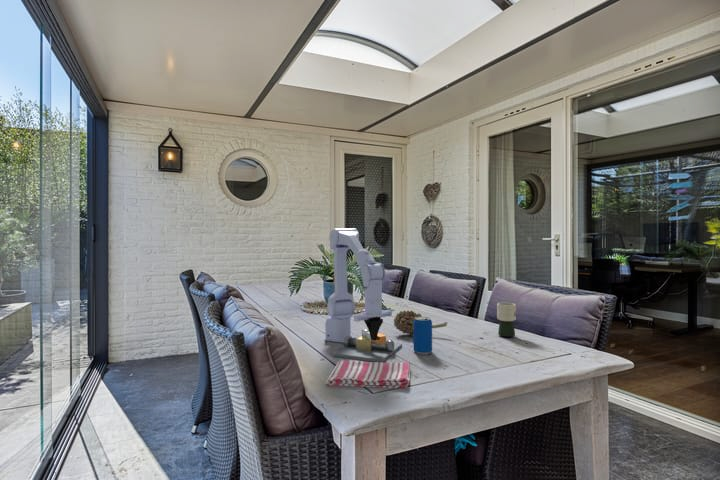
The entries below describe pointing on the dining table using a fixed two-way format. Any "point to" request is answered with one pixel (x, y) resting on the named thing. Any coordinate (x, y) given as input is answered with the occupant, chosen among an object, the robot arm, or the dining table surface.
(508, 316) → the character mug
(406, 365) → the dish towel
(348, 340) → the valve pipe
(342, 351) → the base board
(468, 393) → the dining table surface
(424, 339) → the beverage can
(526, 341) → the dining table surface
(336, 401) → the dining table surface
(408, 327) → the pine cone
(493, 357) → the dining table surface
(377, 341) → the valve lever
